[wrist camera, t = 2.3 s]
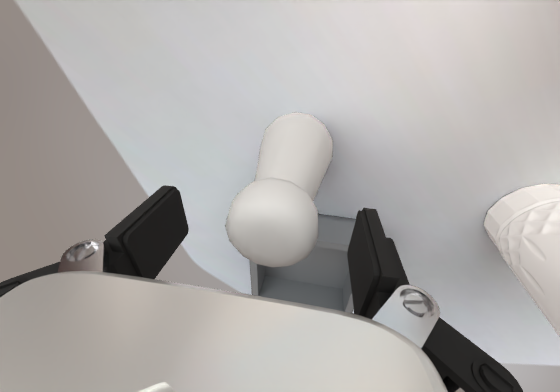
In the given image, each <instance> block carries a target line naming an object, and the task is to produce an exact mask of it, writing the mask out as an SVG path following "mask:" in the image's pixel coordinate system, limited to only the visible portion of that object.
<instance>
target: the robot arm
mask: <svg viewBox="0 0 560 392" xmlns="http://www.w3.org/2000/svg"><path fill="white" fill-rule="evenodd" d="M187 234H188V224H187V220H186V216H185V212H184V208H183V204H182V199H181V195H180V192H179V190H177V188H176V187H174V186H162V187H161V188H160V189H158V190H157V191H156V192H155V193H154V194H153V195H151V196H150V197H149V198H148V199H147V200H146V201H144V202H143V203H142V204H141V205H140V206H139V207H137V208H136V209H135V210H134V211H133V212H132V213H130V214H129V215H128V216H127V217H126V218H124V219H123V220H122V221H121V222H120V223H119V224H117V225H116V226H115V227H114V228H113V229H112V230H110V231H109V232H108V233H107V234H106V235H105V238H106V240H105V241H104V242H102V241H101V240H97V239H90V240H85V241H82V242H79V243H77V244H75V245H73V246H71V247H70V248H69V249H67V250H66V251H65V252H64V253H63V255H62V257H61V260H60V262H58V263H55V264H52V265H49V266H46V267H43V268H40V269H37V270H34V271H31V272H28V273H25V274H23V275H20V276H17V277H14V278H11V279H8V280H6V281H3V282H1V283H0V392H523V390H522V388H521V387H520V385H519V383H518V382H517V380H516V379H515V378H514V377H513V376H512V374H511V373H510V372H509V371H508V370H507V369H505V368H504V367H503V366H502V365H501V364H500V363H498V362H497V361H496V360H494V359H493V358H492V357H491V356H489V355H488V354H487V353H485V352H484V351H483V350H481V349H480V348H479V347H477V346H476V345H475V344H474V343H472V342H471V341H470V340H468V339H467V338H466V337H464V336H463V335H462V334H461V333H459V332H458V331H457V330H455V329H454V328H453V327H451V326H450V325H449V324H447V323H446V322H445V321H444V320H442V319H441V318H440V317H439V315H440V310H439V306H438V305H437V303H436V301H435V300H434V299H433V298H432V296H431V295H429V294H428V293H427V292H426V291H424V290H422V289H420V288H418V287H415V286H412V285H409V282H408V279H407V277H406V274H405V271H404V269H403V266H402V263H401V260H400V258H399V255H398V252H397V250H396V247H395V244H394V242H393V240H392V239H391V238H386V237H385V234H384V231H383V228H382V225H381V222H380V219H379V216H378V213H377V211H376V209H368V208H363V210H362V211H360V210H359V211H358V214H357V218H356V221H355V225H354V229H353V232H352V236H351V240H350V243H349V247H348V252H347V258H348V266H349V274H350V282H351V290H352V298H353V306H354V314H352V313H348V312H343V311H339V310H334V309H329V308H324V307H318V306H313V305H307V304H302V303H296V302H290V301H284V300H278V299H272V298H266V297H261V296H255V295H249V294H243V293H236V292H230V291H224V290H218V289H211V288H205V287H199V286H193V285H187V284H181V283H175V282H167V281H162V280H155V278H156V276H157V275H158V274H159V272H160V271H161V269H162V268H163V266H164V265H165V264H166V263H167V261H168V260H169V258H170V257H171V256H172V254H173V253H174V252H175V250H176V249H177V248H178V246H179V245H180V243H181V242H182V241H183V239H184V238H185V237H186V235H187Z"/></svg>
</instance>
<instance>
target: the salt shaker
mask: <svg viewBox="0 0 560 392" xmlns="http://www.w3.org/2000/svg"><path fill="white" fill-rule="evenodd" d="M332 157H333V141H332V139H331V137H330V135H329V133H328V131H327V128H326V126H325V125H324V124H323V123H322V122H320V121H319V120H318V119H316V118H315V117H313V116H312V115H309V114H303V113H297V112H293V113H290V114H287V115H283V116H280V117H278V118H277V119H276V120H275V121H274V122H272V123H271V124H270V125H269V126H268V127H267V128H266V129H265V132H264V136H263V139H262V142H261V147H260V153H259V159H258V165H257V171H256V176H255V180H254V182H252V183H250V184H249V185H248V186H246V187H245V188H244V189H243V190H242V191H240V192H239V193H238V194H237V195H236V197H235V198H234V199H233V201H232V203H231V206H230V210H229V213H228V217H227V221H226V225H225V227H226V230H227V234H228V237H229V241H230V242H231V243H232V244H233V246H234V247H235V248H236V249H237V250H238V251H239V252H240V253H241V254H242V255H243V256H244V257H246V258H247V259H249V260H251V261H253V262H254V263H256V264H260V265H264V266H269V267H283V266H290V265H293V264H295V263H297V262H299V261H301V260H303V259H305V258H307V257H308V255H309V254H310V252H311V251H312V249H313V248H314V246H315V244H316V241H317V238H318V210H317V208H316V206H315V204H314V203H313V201H314V198H315V196H316V194H317V192H318V189H319V187H320V185H321V183H322V180H323V178H324V176H325V173H326V171H327V169H328V167H329V164H330V162H331V160H332Z"/></svg>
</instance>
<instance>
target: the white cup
mask: <svg viewBox="0 0 560 392" xmlns="http://www.w3.org/2000/svg"><path fill="white" fill-rule="evenodd" d="M484 227H485V229H486V231H487V234H488V236H489V237H490V238H491V240H492V241H493V242H494V244H495V245H496V247H497V248H498V249H499V252H500V254H501V255H502V257H503V258H504V260H505V261H506V263H507V264H508V265H509V267H510V268H511V270H512V272H513V273H514V275H515V276H516V277H517V279H518V280H519V282H520V283H521V284H522V286H523V287H524V288H525V290H526V291H527V293H528V294H529V295H530V297H531V298H532V299H533V301H534V302H535V304H536V305H537V306H538V308H539V309H540V310H541V312H542V313H543V315H544V316H545V317H546V319H547V320H548V322H549V323H550V324H551V326H552V327H553V329H554V330H555V331H556V333H557V334H558V336H559V337H560V185H557V184H547V183H544V184H539V185H534V186H529V187H524V188H520V189H518V190H516V191H514V192H512V193H510V194H508V195H506V196H504V197H502V198H501V199H500V200H499V201H497V202H496V203H495V204H494V205H493V206H492V207H491V208H490V209H489V210H488V212H487V215H486V218H485V221H484Z"/></svg>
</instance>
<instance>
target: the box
mask: <svg viewBox="0 0 560 392" xmlns="http://www.w3.org/2000/svg"><path fill="white" fill-rule="evenodd" d="M355 221H356V219H351V218H344V217H336V216H329V215H321V214H318V238H317V241H316V244H315V246H314V248H313V249H312V251H311V252H310V254H309V255H308V257H307V258H305V259H303V260H301V261H299V262H297V263H295V264H293V265H290V266H283V267H269V266H264V265H260V264H256V263H254V262H253V261H251V260H250V274H251V289H252V295H255V296H261V297H266V298H272V299H278V300H284V301H290V302H296V303H302V304H307V305H313V306H318V307H324V308H329V309H334V310H339V311H343V312H348V313H352V312H353V309H354V306H353V298H352V290H351V282H350V274H349V266H348V258H347V252H348V247H349V243H350V240H351V236H352V232H353V229H354V225H355Z"/></svg>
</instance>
